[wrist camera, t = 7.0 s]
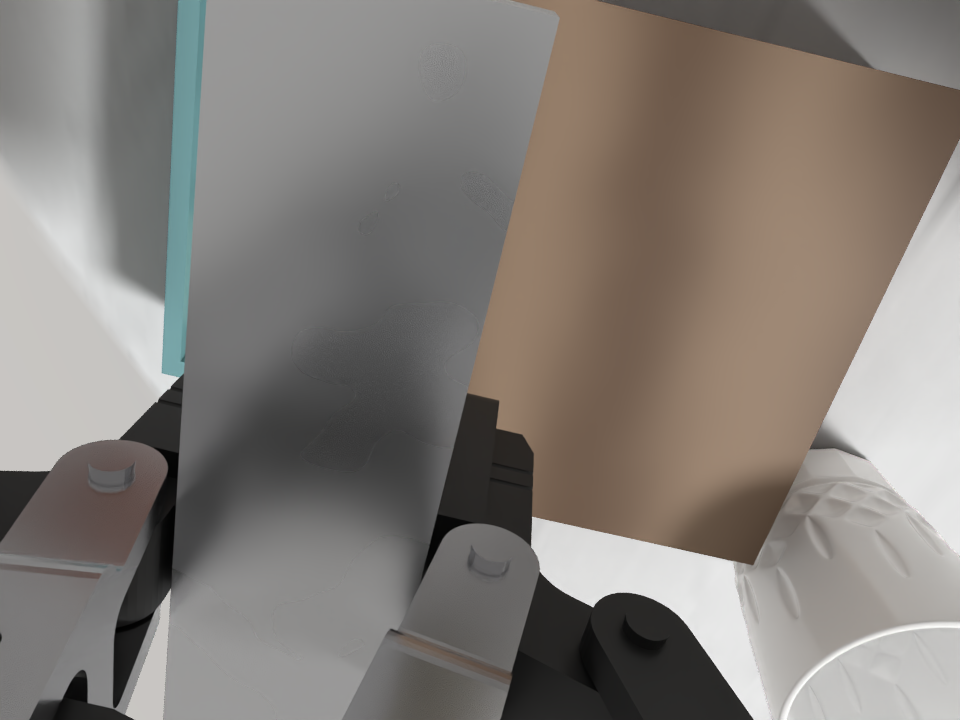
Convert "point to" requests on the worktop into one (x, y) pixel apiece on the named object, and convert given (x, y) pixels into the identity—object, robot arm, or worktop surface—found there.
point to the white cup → (853, 601)
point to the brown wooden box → (696, 268)
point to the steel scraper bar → (333, 327)
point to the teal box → (182, 180)
